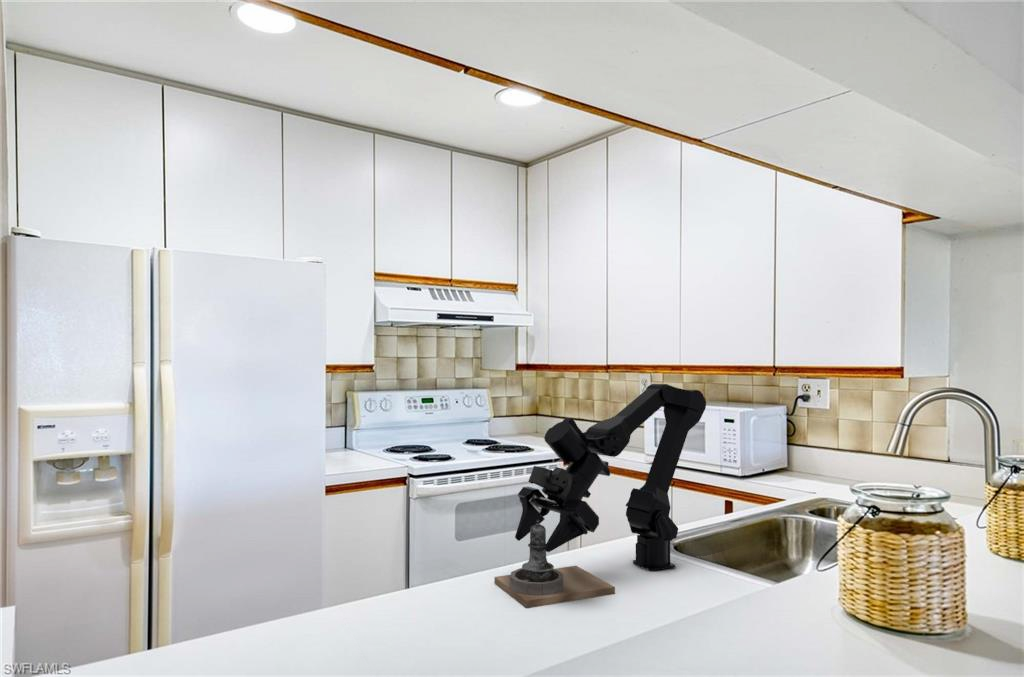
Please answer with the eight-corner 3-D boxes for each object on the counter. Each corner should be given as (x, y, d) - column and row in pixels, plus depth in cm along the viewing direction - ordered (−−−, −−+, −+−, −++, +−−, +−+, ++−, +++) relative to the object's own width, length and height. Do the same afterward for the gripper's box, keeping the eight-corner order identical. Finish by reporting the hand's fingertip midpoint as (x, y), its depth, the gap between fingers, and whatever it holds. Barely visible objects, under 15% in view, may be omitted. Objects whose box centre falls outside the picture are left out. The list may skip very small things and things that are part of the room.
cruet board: (576, 571, 129) (576, 555, 129) (614, 593, 116) (614, 575, 117) (494, 583, 122) (494, 566, 122) (526, 607, 109) (526, 588, 109)
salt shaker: (520, 580, 119) (520, 516, 120) (551, 580, 120) (551, 515, 120) (523, 591, 114) (523, 523, 114) (555, 591, 114) (555, 523, 114)
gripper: (525, 445, 128) (478, 507, 121) (586, 456, 112) (536, 527, 106) (556, 481, 132) (512, 543, 125) (619, 496, 116) (572, 568, 110)
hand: (531, 544), depth 116 cm, fingers open, 9 cm apart
